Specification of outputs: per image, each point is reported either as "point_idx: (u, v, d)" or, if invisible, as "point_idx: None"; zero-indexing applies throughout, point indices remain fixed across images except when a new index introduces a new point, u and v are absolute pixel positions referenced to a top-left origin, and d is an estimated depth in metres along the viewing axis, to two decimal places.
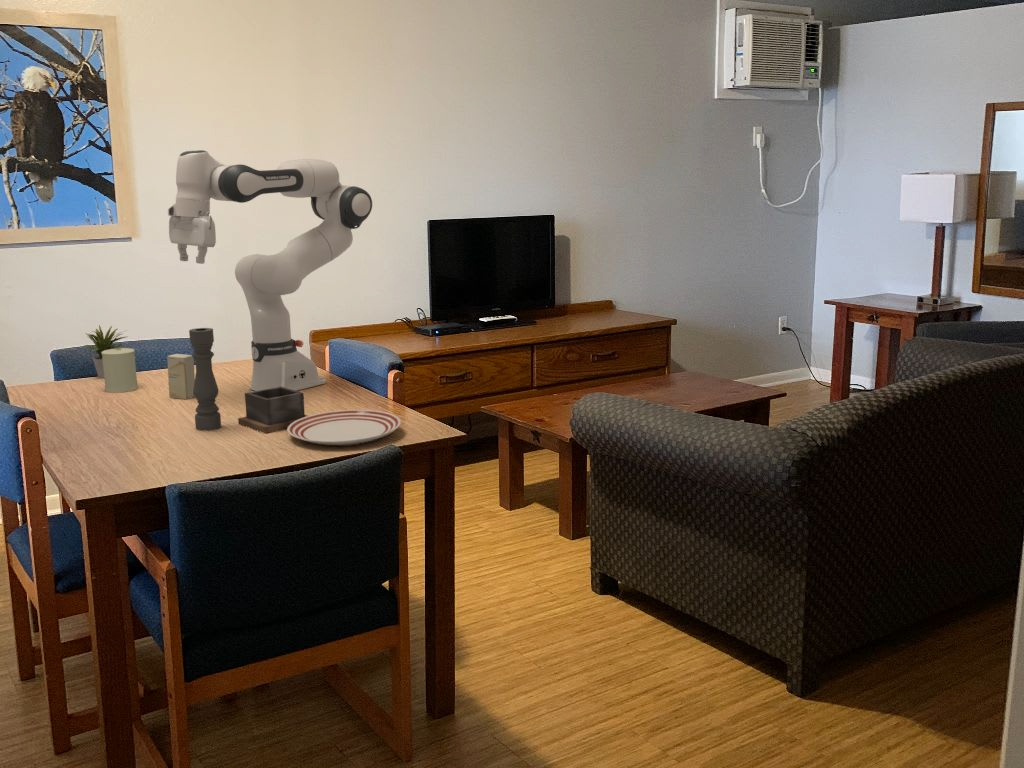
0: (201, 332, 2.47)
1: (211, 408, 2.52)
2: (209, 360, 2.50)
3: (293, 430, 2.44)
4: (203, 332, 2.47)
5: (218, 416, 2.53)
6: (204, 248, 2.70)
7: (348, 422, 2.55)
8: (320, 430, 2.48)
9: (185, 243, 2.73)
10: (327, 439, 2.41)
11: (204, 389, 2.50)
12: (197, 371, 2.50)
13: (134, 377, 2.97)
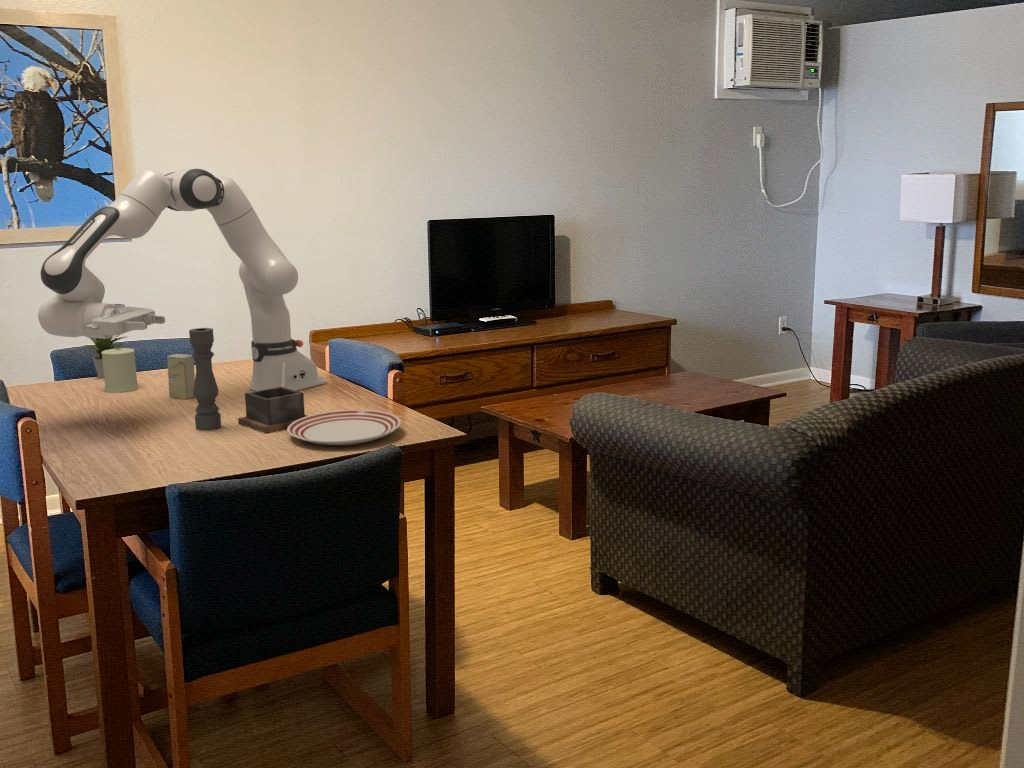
0: (201, 332, 2.47)
1: (211, 408, 2.52)
2: (209, 360, 2.50)
3: (293, 430, 2.44)
4: (203, 332, 2.47)
5: (218, 416, 2.53)
6: (125, 325, 2.45)
7: (348, 422, 2.55)
8: (320, 430, 2.48)
9: None
10: (327, 439, 2.41)
11: (204, 389, 2.50)
12: (197, 371, 2.50)
13: (134, 377, 2.97)
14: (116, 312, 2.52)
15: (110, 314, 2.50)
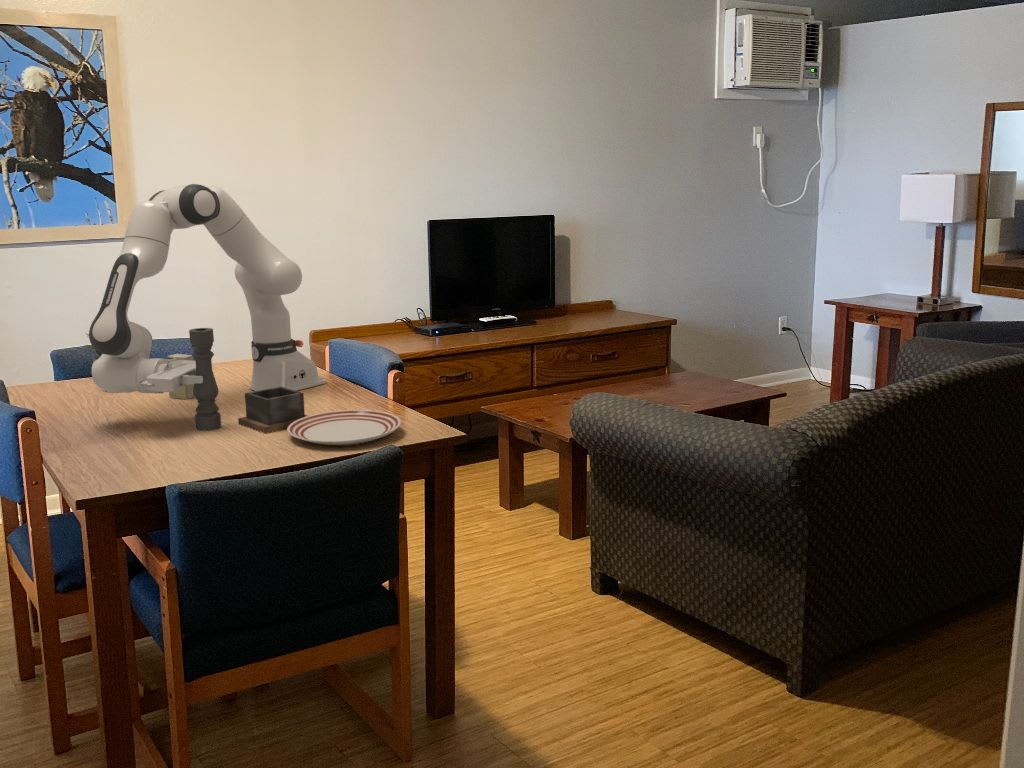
0: (201, 332, 2.47)
1: (211, 408, 2.52)
2: (209, 360, 2.50)
3: (293, 430, 2.44)
4: (203, 332, 2.47)
5: (218, 416, 2.53)
6: (184, 379, 2.48)
7: (348, 422, 2.55)
8: (320, 430, 2.48)
9: None
10: (327, 439, 2.41)
11: (204, 389, 2.50)
12: (197, 371, 2.50)
13: None
14: (169, 367, 2.54)
15: (163, 369, 2.51)
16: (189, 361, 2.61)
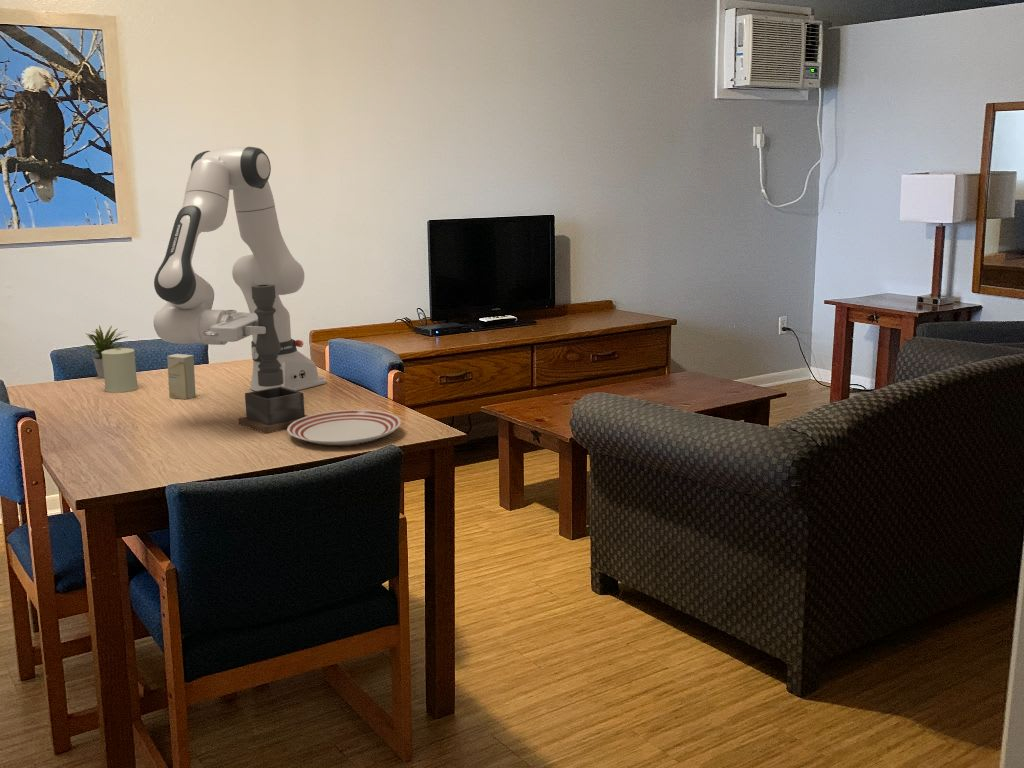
0: (262, 288, 2.47)
1: (273, 364, 2.53)
2: (271, 316, 2.51)
3: (293, 430, 2.44)
4: (265, 288, 2.48)
5: (280, 372, 2.54)
6: (247, 330, 2.49)
7: (348, 422, 2.55)
8: (320, 430, 2.48)
9: None
10: (327, 439, 2.41)
11: (266, 345, 2.51)
12: None
13: (134, 377, 2.97)
14: (231, 318, 2.54)
15: (226, 320, 2.51)
16: (249, 314, 2.61)
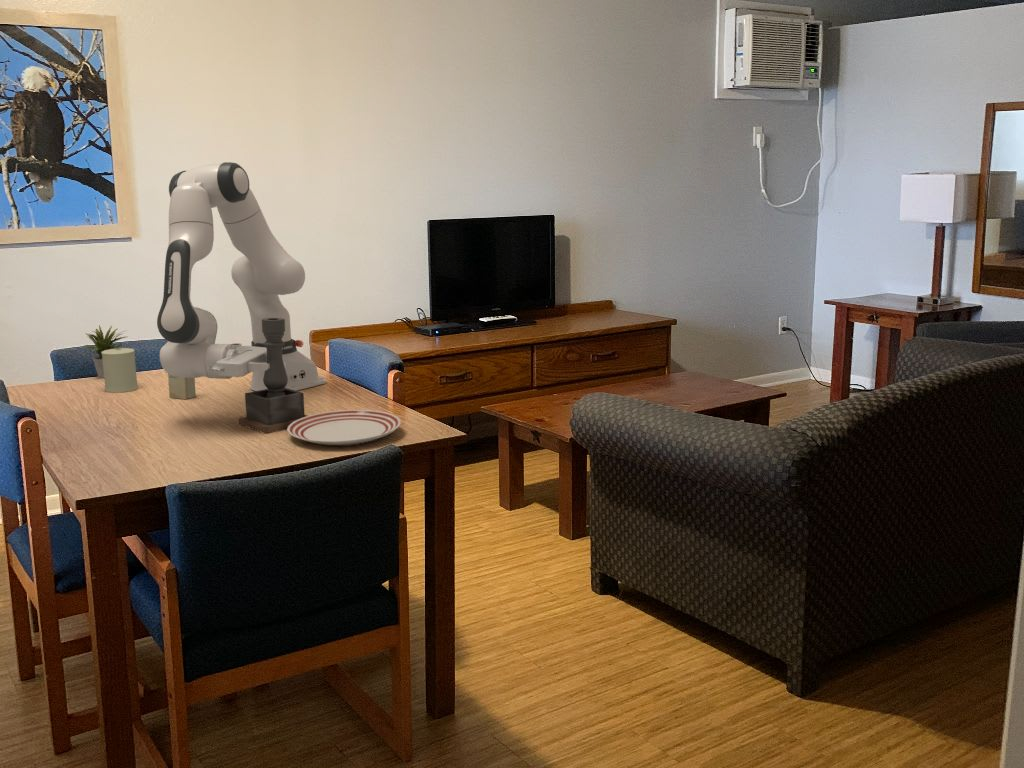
0: (272, 321, 2.52)
1: None
2: (280, 349, 2.55)
3: (293, 430, 2.44)
4: (274, 321, 2.52)
5: None
6: (249, 366, 2.49)
7: (348, 422, 2.55)
8: (320, 430, 2.48)
9: None
10: (327, 439, 2.41)
11: (274, 377, 2.54)
12: (268, 359, 2.55)
13: (134, 377, 2.97)
14: (236, 352, 2.56)
15: (232, 355, 2.53)
16: (254, 347, 2.63)
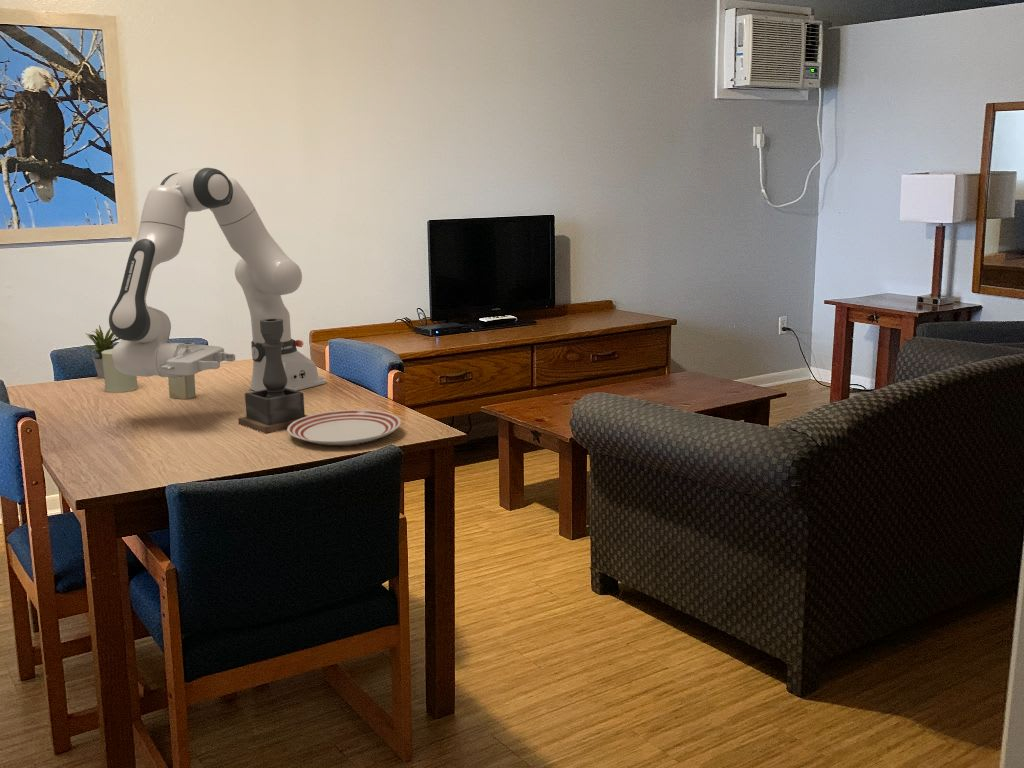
0: (270, 322, 2.51)
1: None
2: (278, 350, 2.54)
3: (293, 430, 2.44)
4: (273, 322, 2.51)
5: None
6: (199, 365, 2.50)
7: (348, 422, 2.55)
8: (320, 430, 2.48)
9: None
10: (327, 439, 2.41)
11: (273, 378, 2.54)
12: (267, 360, 2.55)
13: (134, 377, 2.97)
14: (188, 351, 2.58)
15: (183, 354, 2.55)
16: (207, 346, 2.65)
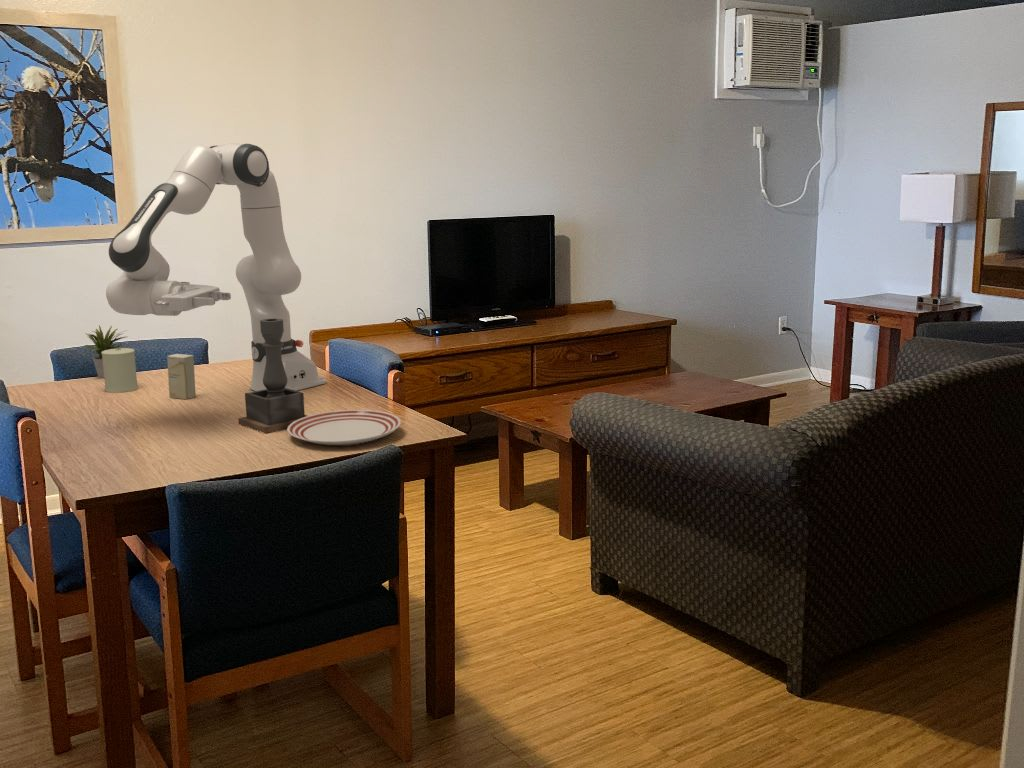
0: (270, 322, 2.51)
1: None
2: (278, 350, 2.54)
3: (293, 430, 2.44)
4: (273, 322, 2.51)
5: None
6: (194, 301, 2.47)
7: (348, 422, 2.55)
8: (320, 430, 2.48)
9: None
10: (327, 439, 2.41)
11: (273, 378, 2.54)
12: (267, 360, 2.55)
13: (134, 377, 2.97)
14: (183, 289, 2.54)
15: (178, 291, 2.52)
16: (203, 286, 2.62)
